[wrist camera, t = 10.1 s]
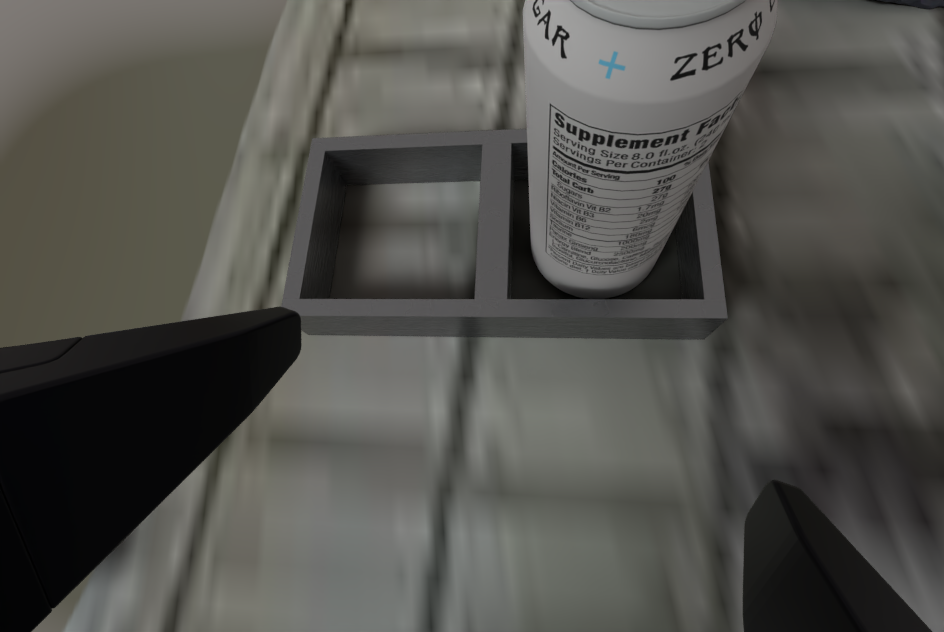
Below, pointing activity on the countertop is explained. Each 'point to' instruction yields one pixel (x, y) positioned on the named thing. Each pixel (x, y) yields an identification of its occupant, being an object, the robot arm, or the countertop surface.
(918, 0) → the dark slate chunk
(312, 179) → the divided frame
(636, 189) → the energy drink can
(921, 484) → the countertop surface
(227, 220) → the countertop surface
